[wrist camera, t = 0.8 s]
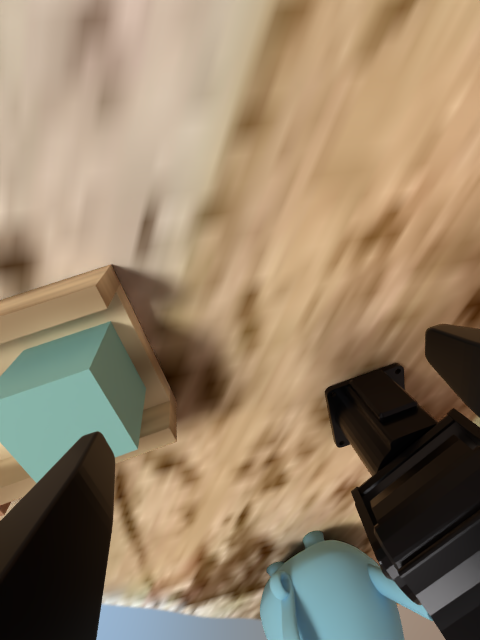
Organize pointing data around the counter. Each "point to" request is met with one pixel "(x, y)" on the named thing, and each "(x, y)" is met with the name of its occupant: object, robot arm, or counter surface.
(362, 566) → the teapot
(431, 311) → the counter surface
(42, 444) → the block
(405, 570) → the robot arm
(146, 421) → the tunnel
